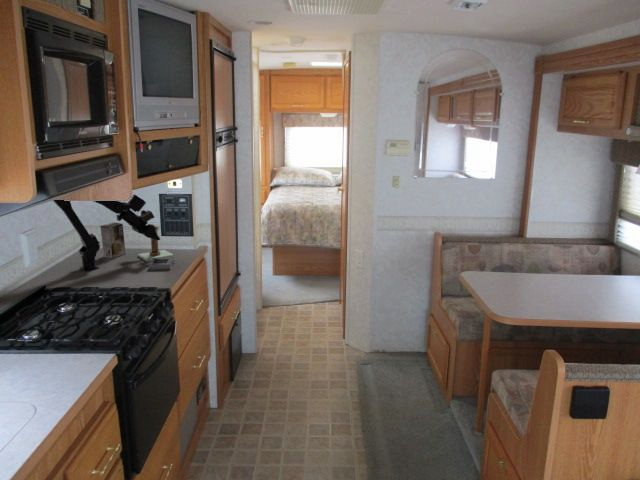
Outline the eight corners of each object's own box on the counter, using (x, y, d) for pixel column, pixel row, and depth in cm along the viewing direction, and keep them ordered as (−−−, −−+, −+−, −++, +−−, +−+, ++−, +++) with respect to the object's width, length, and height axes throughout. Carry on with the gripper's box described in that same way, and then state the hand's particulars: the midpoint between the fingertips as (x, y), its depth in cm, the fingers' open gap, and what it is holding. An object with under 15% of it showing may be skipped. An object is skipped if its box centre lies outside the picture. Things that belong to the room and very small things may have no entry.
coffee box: (116, 252, 279) (113, 222, 275) (126, 253, 276) (123, 223, 272) (103, 256, 271) (99, 225, 267) (112, 258, 268) (109, 226, 264)
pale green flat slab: (146, 261, 262) (146, 259, 262) (137, 256, 271) (137, 254, 271) (173, 256, 271) (173, 254, 270) (164, 251, 280) (164, 249, 279)
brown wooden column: (153, 256, 266) (151, 227, 262) (147, 253, 272) (145, 224, 269) (163, 255, 269) (161, 226, 266) (157, 251, 275) (155, 223, 272)
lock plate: (148, 270, 249) (147, 265, 248) (153, 262, 260) (153, 257, 260) (170, 269, 250) (170, 264, 249) (174, 262, 261) (174, 257, 261)
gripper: (150, 209, 255) (173, 228, 264) (136, 203, 269) (158, 222, 278) (135, 227, 252) (159, 246, 261) (121, 220, 266) (145, 239, 275)
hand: (156, 237), depth 269 cm, fingers open, 9 cm apart
